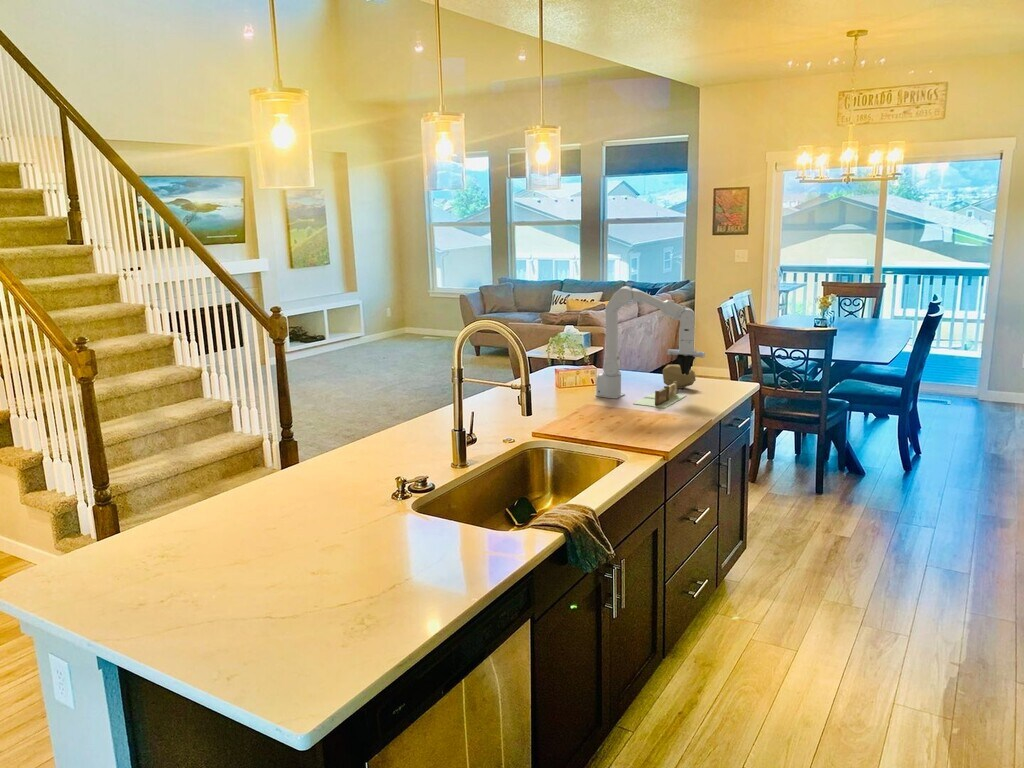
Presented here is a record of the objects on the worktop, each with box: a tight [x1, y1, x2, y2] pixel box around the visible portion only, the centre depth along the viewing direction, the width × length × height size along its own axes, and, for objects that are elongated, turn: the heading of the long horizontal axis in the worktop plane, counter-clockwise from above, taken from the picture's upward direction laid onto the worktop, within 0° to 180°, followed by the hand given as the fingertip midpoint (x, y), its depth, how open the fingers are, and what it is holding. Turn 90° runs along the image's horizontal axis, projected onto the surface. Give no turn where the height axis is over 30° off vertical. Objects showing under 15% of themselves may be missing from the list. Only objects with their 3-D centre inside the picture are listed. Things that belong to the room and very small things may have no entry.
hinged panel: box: [669, 381, 678, 398], centre depth 303 cm, size 8×2×5 cm, turn 147°
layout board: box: [633, 392, 687, 409], centre depth 300 cm, size 13×22×1 cm, turn 147°
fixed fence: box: [654, 385, 669, 406], centre depth 295 cm, size 2×11×6 cm, turn 147°
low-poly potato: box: [662, 363, 697, 389], centre depth 319 cm, size 15×11×12 cm
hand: (685, 374), depth 299 cm, fingers closed
